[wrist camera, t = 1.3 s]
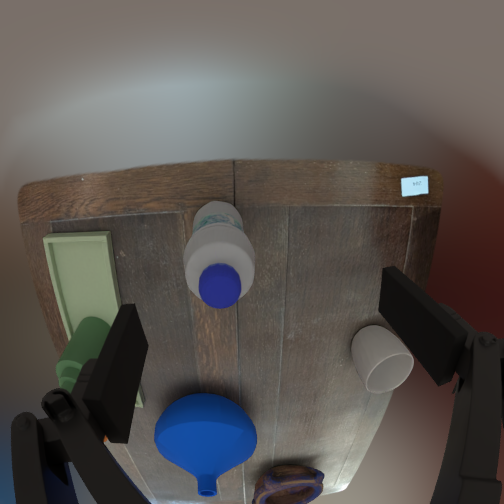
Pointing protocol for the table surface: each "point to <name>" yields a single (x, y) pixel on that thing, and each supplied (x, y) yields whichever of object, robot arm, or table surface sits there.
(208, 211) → the bottle
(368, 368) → the mug
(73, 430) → the robot arm
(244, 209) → the table surface
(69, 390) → the green bottle
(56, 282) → the tray
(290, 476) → the bowl
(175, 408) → the vase
